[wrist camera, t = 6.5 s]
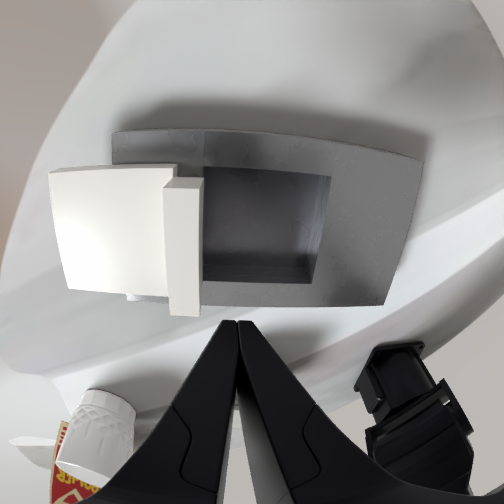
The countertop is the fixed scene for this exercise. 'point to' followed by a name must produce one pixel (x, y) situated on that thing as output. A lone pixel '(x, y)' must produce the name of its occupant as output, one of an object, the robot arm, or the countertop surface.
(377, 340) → the countertop surface
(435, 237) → the countertop surface
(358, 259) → the socket plate
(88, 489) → the milk carton
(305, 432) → the robot arm
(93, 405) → the white cup
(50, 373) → the countertop surface
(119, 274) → the panel
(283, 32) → the countertop surface
